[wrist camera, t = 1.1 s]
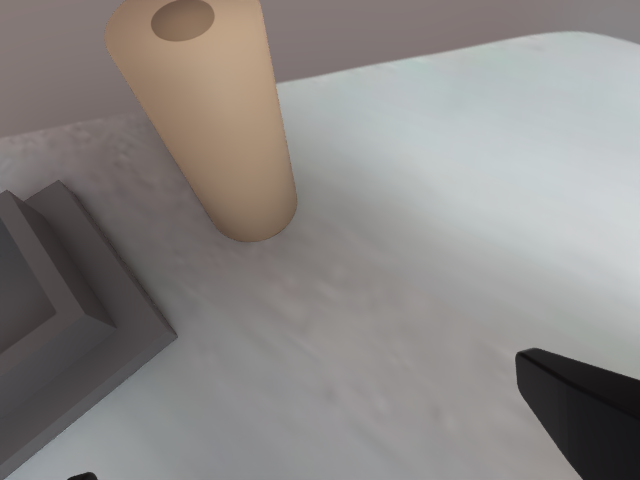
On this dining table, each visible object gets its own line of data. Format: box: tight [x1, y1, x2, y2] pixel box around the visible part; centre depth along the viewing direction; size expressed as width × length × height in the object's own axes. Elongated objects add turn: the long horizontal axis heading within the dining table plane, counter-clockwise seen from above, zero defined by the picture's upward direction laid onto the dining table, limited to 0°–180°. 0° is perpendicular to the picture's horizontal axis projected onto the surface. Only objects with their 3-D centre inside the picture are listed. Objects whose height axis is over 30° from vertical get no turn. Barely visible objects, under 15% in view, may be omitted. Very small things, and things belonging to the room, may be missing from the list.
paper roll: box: [105, 0, 297, 242], centre depth 20 cm, size 6×6×13 cm
